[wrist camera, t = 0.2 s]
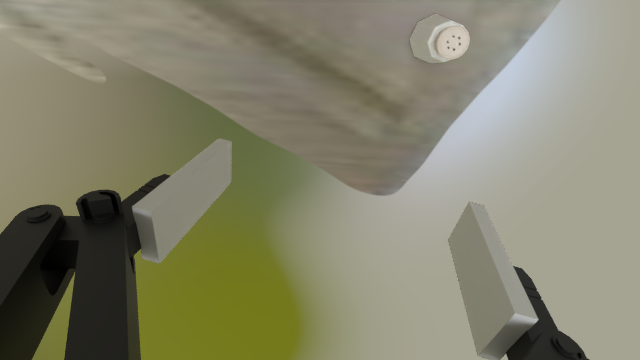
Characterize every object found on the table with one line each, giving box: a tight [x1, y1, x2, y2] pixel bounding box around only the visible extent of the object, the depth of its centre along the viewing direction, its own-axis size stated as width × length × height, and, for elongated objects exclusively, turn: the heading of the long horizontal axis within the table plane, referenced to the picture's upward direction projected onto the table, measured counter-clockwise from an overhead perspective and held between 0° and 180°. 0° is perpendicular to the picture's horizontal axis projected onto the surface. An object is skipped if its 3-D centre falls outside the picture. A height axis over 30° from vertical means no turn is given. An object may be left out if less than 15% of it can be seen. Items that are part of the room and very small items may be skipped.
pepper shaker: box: [409, 14, 470, 63], centre depth 31 cm, size 5×5×11 cm
